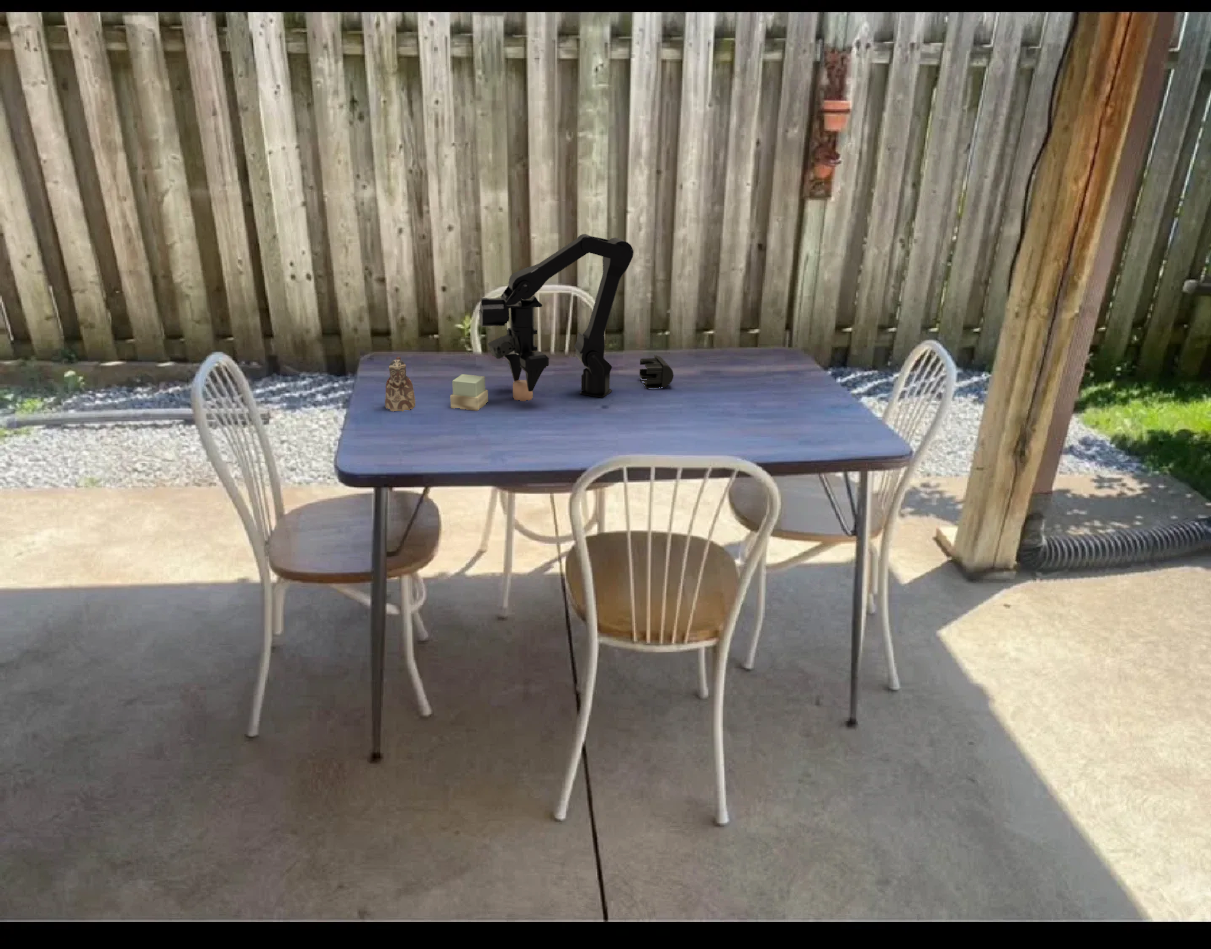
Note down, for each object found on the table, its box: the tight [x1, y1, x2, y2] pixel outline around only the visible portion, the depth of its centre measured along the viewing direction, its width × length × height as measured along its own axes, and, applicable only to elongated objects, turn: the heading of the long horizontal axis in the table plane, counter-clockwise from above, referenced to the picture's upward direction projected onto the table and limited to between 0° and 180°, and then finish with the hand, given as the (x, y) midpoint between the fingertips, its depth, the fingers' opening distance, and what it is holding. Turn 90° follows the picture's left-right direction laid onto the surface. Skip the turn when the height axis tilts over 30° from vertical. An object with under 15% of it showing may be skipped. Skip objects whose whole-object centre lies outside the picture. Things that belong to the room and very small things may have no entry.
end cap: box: [639, 354, 674, 389], centre depth 234 cm, size 10×7×7 cm
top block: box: [451, 373, 486, 397], centre depth 213 cm, size 6×6×4 cm
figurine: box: [384, 356, 416, 412], centre depth 210 cm, size 7×7×12 cm
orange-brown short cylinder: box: [512, 379, 534, 402], centre depth 221 cm, size 5×5×4 cm
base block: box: [450, 389, 489, 412], centre depth 215 cm, size 7×7×4 cm
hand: (523, 385), depth 220 cm, fingers open, 9 cm apart
